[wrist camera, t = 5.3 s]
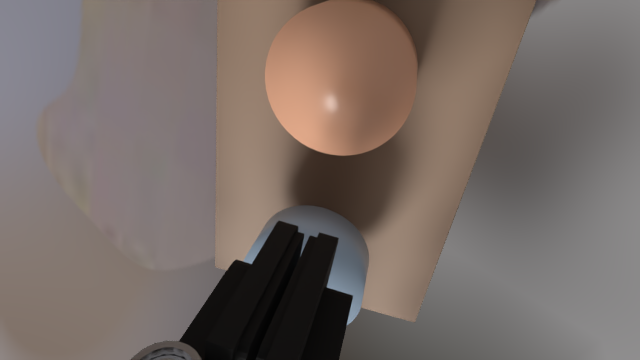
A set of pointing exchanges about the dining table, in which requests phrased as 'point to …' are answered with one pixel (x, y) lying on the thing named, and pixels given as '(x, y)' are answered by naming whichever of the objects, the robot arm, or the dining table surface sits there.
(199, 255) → the dining table surface
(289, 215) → the slate blue button
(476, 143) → the button panel
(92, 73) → the dining table surface
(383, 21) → the terracotta button
